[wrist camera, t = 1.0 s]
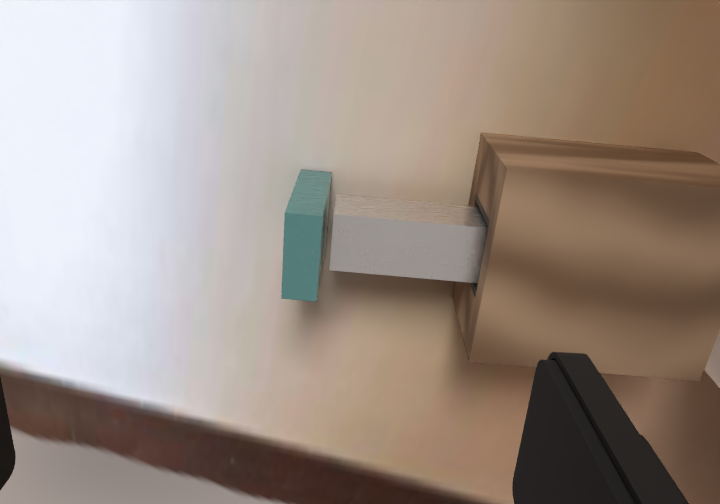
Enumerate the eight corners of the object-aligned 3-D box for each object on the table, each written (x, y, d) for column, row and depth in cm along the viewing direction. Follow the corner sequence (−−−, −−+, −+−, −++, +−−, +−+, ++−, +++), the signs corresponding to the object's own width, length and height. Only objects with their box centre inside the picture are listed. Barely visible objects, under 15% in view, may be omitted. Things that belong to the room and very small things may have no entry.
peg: (300, 169, 39) (284, 212, 32) (515, 188, 39) (548, 236, 32) (297, 242, 41) (281, 298, 34) (500, 260, 42) (528, 319, 34)
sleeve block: (481, 132, 38) (507, 168, 31) (697, 152, 39) (773, 192, 31) (452, 297, 43) (469, 362, 36) (644, 314, 43) (699, 381, 36)
